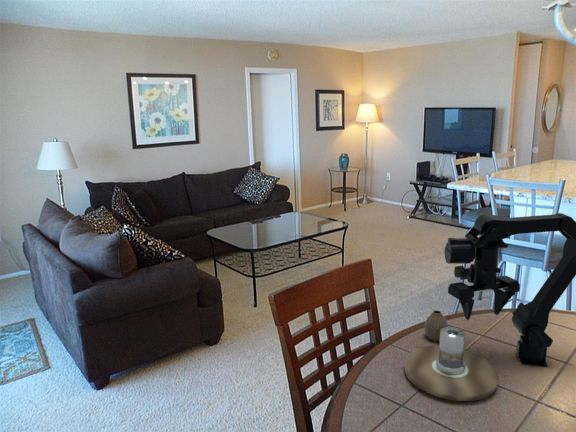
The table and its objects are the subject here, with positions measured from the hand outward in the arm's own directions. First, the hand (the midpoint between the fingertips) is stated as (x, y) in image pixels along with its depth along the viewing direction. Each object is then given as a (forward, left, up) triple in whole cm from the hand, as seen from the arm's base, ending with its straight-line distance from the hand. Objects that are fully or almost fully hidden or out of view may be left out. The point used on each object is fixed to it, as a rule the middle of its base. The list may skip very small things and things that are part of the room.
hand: (481, 316), depth 122 cm
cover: (+8, +10, -10) cm, 17 cm away
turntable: (+8, +10, -13) cm, 19 cm away
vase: (+11, -10, -13) cm, 20 cm away
